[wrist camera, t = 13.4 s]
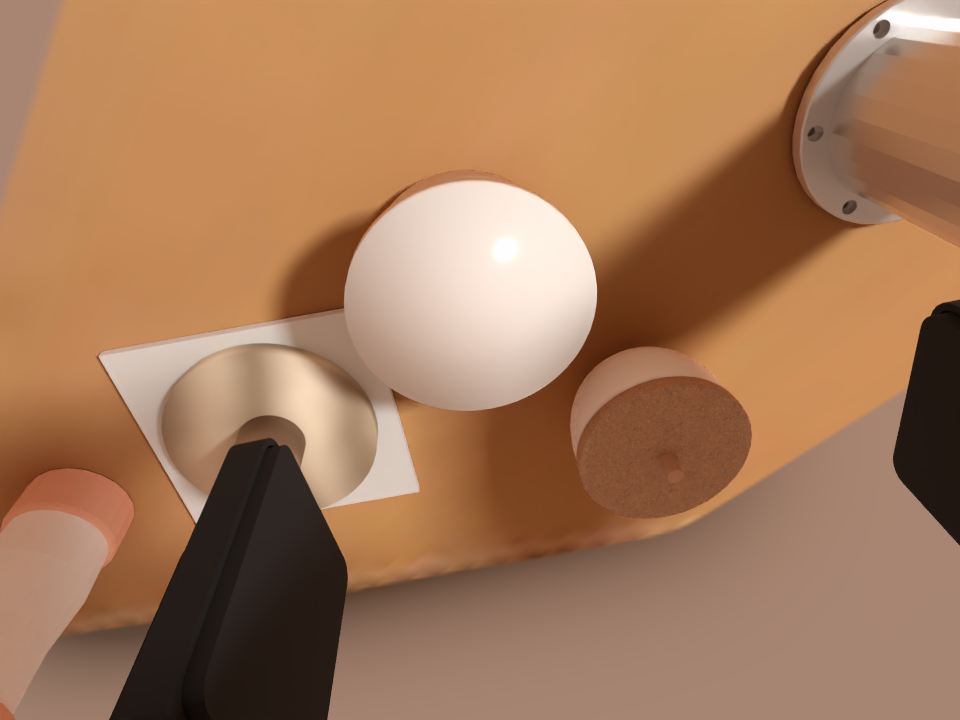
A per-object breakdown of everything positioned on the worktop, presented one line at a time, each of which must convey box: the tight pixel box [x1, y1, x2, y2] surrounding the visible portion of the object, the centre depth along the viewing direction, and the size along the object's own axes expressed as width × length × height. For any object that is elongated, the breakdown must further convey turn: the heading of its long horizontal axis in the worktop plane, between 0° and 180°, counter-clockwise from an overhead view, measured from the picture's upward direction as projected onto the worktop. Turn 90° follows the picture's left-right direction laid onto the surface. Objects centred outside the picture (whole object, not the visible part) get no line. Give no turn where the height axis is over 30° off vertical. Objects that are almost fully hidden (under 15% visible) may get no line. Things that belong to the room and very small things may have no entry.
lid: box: [161, 343, 378, 509], centre depth 40 cm, size 14×14×6 cm
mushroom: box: [344, 170, 597, 411], centre depth 35 cm, size 13×13×7 cm
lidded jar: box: [570, 346, 752, 518], centre depth 40 cm, size 11×11×9 cm
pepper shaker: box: [0, 468, 134, 720], centre depth 37 cm, size 7×7×19 cm
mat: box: [98, 308, 419, 524], centre depth 43 cm, size 17×16×1 cm
